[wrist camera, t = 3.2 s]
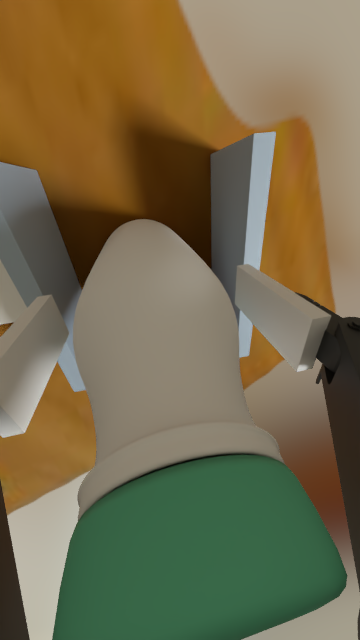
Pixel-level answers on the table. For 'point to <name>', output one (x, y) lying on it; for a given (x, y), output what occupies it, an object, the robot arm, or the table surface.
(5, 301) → the tile
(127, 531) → the milk bottle
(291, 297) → the robot arm
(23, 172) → the grey u-shaped piece
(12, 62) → the table surface
